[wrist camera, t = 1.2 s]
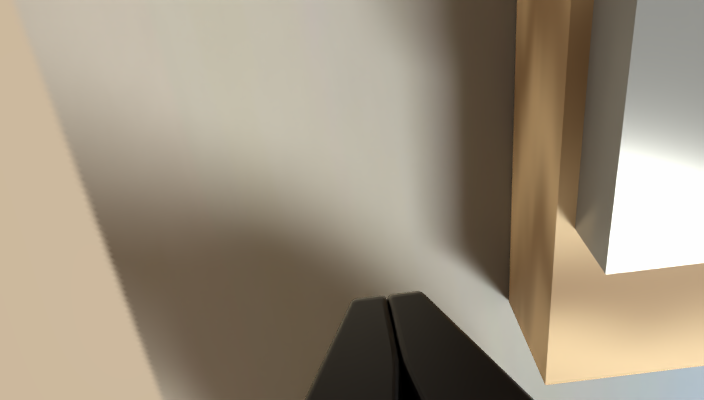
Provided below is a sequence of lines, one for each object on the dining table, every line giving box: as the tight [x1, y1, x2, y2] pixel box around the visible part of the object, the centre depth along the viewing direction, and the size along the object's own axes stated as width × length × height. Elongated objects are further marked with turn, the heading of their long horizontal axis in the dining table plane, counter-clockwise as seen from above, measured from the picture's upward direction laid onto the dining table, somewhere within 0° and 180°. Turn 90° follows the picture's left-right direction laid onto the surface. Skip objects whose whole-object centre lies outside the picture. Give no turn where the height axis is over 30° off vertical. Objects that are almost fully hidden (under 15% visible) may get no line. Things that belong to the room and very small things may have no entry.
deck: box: [509, 0, 704, 385], centre depth 17 cm, size 20×8×4 cm, turn 6°
